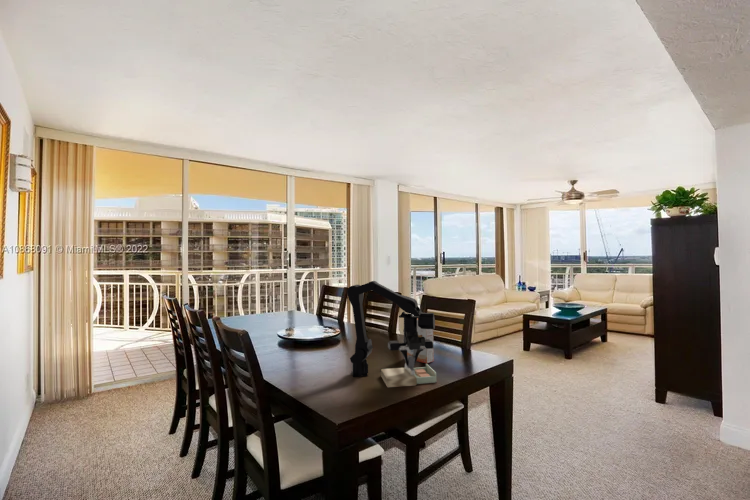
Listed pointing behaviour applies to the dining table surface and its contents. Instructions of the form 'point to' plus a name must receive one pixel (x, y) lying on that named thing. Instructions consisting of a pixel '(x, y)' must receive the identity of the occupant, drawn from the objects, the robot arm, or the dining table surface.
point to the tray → (430, 379)
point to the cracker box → (426, 354)
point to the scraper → (410, 365)
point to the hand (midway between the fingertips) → (410, 364)
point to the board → (397, 377)
